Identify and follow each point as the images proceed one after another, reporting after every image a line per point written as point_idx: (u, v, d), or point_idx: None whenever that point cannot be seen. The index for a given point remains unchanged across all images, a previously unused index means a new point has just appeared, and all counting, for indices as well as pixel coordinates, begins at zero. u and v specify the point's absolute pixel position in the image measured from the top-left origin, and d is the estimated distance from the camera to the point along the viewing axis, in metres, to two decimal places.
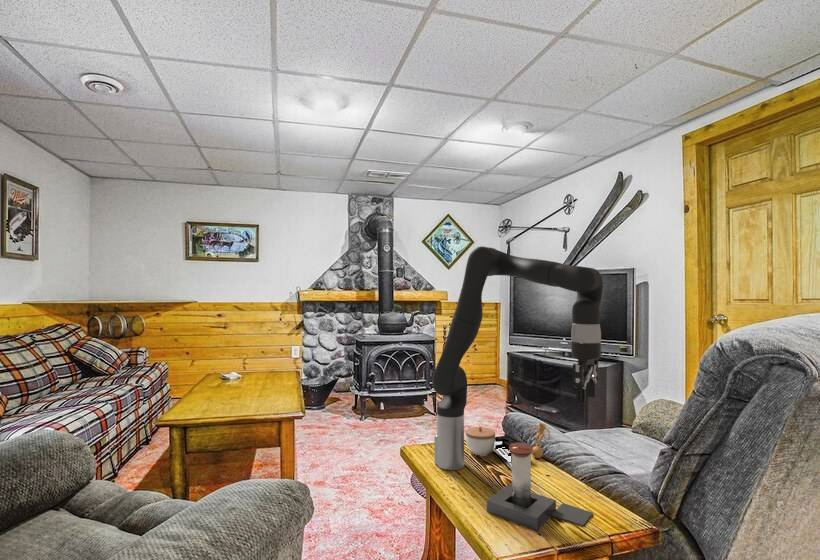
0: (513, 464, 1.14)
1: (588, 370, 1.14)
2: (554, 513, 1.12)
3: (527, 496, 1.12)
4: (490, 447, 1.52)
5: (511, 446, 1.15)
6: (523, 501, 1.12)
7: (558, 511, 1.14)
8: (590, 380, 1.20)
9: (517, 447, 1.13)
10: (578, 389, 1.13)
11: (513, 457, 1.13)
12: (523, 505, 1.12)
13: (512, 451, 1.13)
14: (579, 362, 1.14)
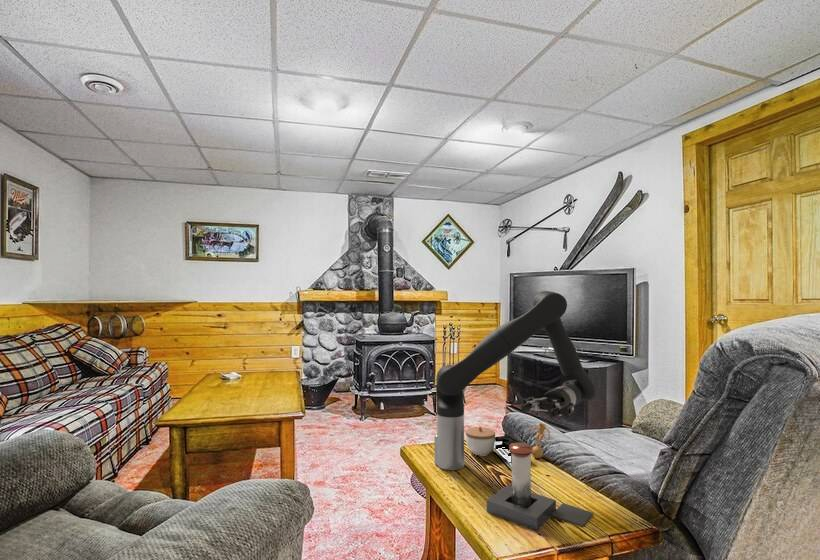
0: (513, 464, 1.14)
1: None
2: (554, 513, 1.12)
3: (527, 496, 1.12)
4: (490, 447, 1.52)
5: (511, 446, 1.15)
6: (523, 501, 1.12)
7: (558, 511, 1.14)
8: (530, 405, 1.29)
9: (517, 447, 1.13)
10: (560, 411, 1.22)
11: (513, 457, 1.13)
12: (523, 505, 1.12)
13: (512, 451, 1.13)
14: None
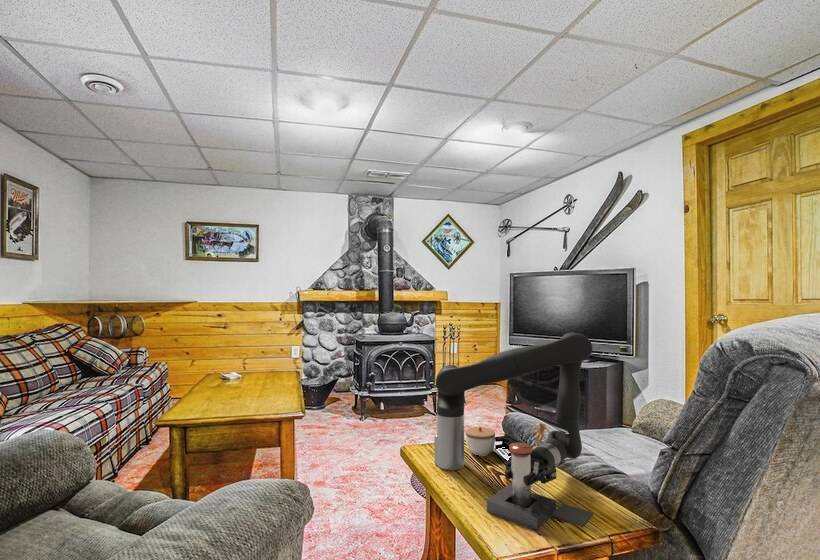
0: (512, 464, 1.13)
1: None
2: (554, 513, 1.12)
3: (527, 496, 1.12)
4: (490, 447, 1.52)
5: (511, 446, 1.14)
6: (523, 501, 1.12)
7: (558, 511, 1.14)
8: None
9: (517, 448, 1.13)
10: (536, 477, 1.13)
11: (513, 457, 1.13)
12: (523, 505, 1.12)
13: (512, 451, 1.13)
14: (548, 467, 1.18)
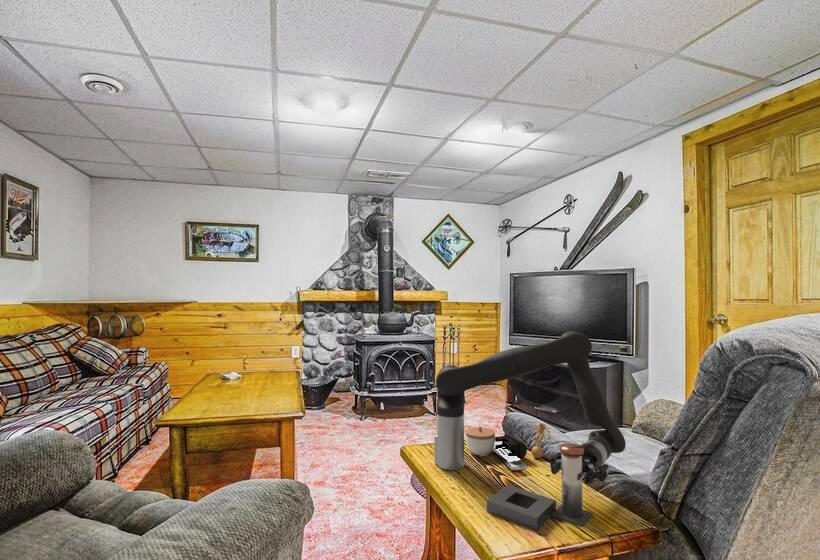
0: (564, 465, 1.12)
1: None
2: (554, 513, 1.12)
3: (579, 498, 1.10)
4: (490, 447, 1.52)
5: (562, 447, 1.13)
6: (575, 503, 1.10)
7: (558, 511, 1.14)
8: None
9: (568, 448, 1.12)
10: (595, 475, 1.10)
11: (564, 458, 1.12)
12: (575, 507, 1.10)
13: (563, 452, 1.11)
14: None
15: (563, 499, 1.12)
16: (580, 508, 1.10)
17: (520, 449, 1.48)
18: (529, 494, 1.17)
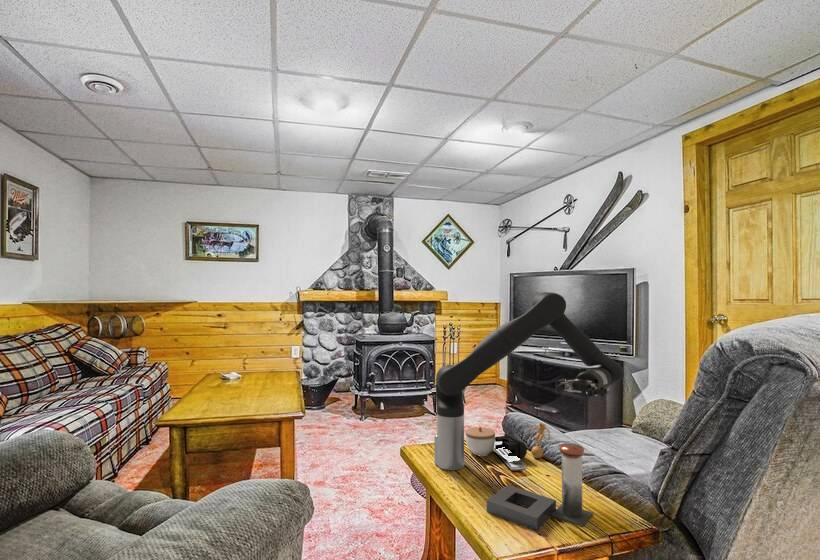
0: (564, 465, 1.12)
1: None
2: (554, 513, 1.12)
3: (579, 498, 1.10)
4: (490, 447, 1.52)
5: (561, 447, 1.13)
6: (575, 503, 1.10)
7: (558, 511, 1.14)
8: (564, 386, 1.29)
9: (568, 448, 1.12)
10: (597, 391, 1.22)
11: (564, 458, 1.12)
12: (575, 507, 1.10)
13: (563, 452, 1.11)
14: (598, 385, 1.28)
15: (563, 499, 1.12)
16: (580, 508, 1.10)
17: (520, 449, 1.48)
18: (529, 494, 1.17)
